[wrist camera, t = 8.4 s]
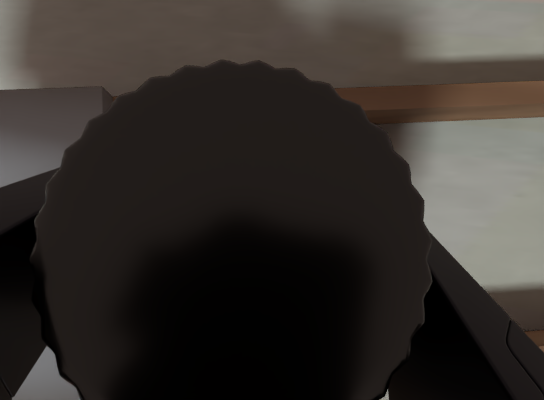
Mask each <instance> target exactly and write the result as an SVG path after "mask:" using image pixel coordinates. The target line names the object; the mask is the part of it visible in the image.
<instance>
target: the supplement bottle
mask: <svg viewBox="0 0 544 400" xmlns="http://www.w3.org/2000/svg"><path fill="white" fill-rule="evenodd" d="M423 218H424V200H423V198H422V197H421V195H420V194H419V192H418V191H417V190H416V189H415V188H414V186H413V185H412V183H411V172H410V167H409V164H408V163H407V162H406V161H405V160H404V159H403V158H402V157H401V156H400V155H398V154H397V153H396V152H395V151H394V150H393V146H392V143H391V140H390V138H389V135H388V133H387V132H386V131H385V130H383V129H382V128H380V127H379V126H377V125H375V124H373V123H371V122H370V121H369V119H368V118H367V116H366V113H365V111H364V110H363V108H362V107H361V105H359V104H356V103H354V102H352V101H349V100H346V99H343V98H341V97H340V96H339V95H338V93H337V92H336V90H335V89H334V88H333V87H332V86H331V85H330V84H328V83H324V82H319V81H312V80H309V79H307V78H306V77H305V76H304V75H303V74H302V73H301V72H299V71H298V70H297V69H294V68H280V69H275V68H273V67H272V66H270V65H268V64H266V63H264V62H261V61H259V60H258V61H252V62H248V63H246V64H237V63H234V62H231V61H226V60H220V61H217V62H214V63H212V64H210V65H208V66H205V67H200V66H184V67H182V68H180V69H178V70H177V71H176V72H175V73H173V74H171V75H170V76H158V77H152V78H149V79H148V80H147V81H146V82H145V83H143V84H142V85H141V86H140V87H139V88H138V89H137V90H136V91H133V92H129V93H125V94H123V95H120V96H117V98H116V99H115V100H114V101H113V103H112V104H111V106H110V107H109V109H108V110H107V111H106V112H104V113H102V114H100V115H98V116H96V117H94V118H92V119H91V120H89V121H88V123H87V125H86V127H85V129H84V131H83V133H82V135H81V137H80V138H79V139H78V140H77V141H75V142H74V143H73V144H71V145H70V146H69V147H68V148H66V149H65V151H64V154H63V157H62V162H61V166H60V169H59V170H58V171H57V172H56V173H55V174H54V175H53V176H52V177H51V179H50V180H49V181H48V182H47V183H46V189H45V204H44V205H43V207H42V208H41V210H40V211H39V213H38V215H37V216H36V218H35V220H34V228H35V233H36V242H35V245H34V247H33V249H32V252H31V255H30V258H29V263H30V266H31V270H32V273H33V275H34V278H35V281H34V286H33V291H32V298H31V300H32V302H33V304H34V306H35V308H36V310H37V311H38V312H39V314H40V316H41V338H42V340H43V341H44V343H45V344H46V345H47V347H49V348H50V349H51V350H52V351H53V353H54V354H55V358H56V363H57V368H58V372H59V375H60V376H61V377H62V378H63V379H64V380H65V381H67V382H68V383H70V384H72V385H73V386H74V387H75V388H76V389H77V392H78V395H79V397H80V399H81V400H379V399H381V398H383V397H384V396H385V395H386V392H387V390H388V387H389V384H390V381H391V377H392V375H393V374H394V373H395V372H397V371H398V370H399V369H401V368H402V367H403V366H404V365H405V364H406V363H407V362H408V361H409V356H410V351H411V340H412V338H413V336H414V335H415V333H416V332H418V331H419V329H420V328H421V326H422V325H423V324H424V322H425V312H424V302H423V300H424V297H425V295H426V293H427V292H428V291H429V288H430V286H431V284H432V276H431V271H430V268H429V265H428V262H427V258H428V254H429V252H430V249H431V244H432V238H431V236H430V233H429V231H428V229H427V227H426V225H425V224H424V222H423Z"/></svg>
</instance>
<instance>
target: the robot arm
mask: <svg viewBox="0 0 544 400" xmlns="http://www.w3.org/2000/svg"><path fill="white" fill-rule="evenodd" d="M59 169H60V167H59V168H56V169H53V170H50V171H47V172H44V173H41V174H38V175H35V176H32V177H29V178H26V179H23V180H20V181H18V182H15V183H12V184H9V185H6V186H3V187H0V400H12V398H13V397H14V396H15V395H16V393H17V392H18V390H19V388H20V387H21V385H22V384H23V382H24V381H25V379H26V378H27V376H28V374H29V373H30V371H31V370H32V368H33V367H34V365H35V364H36V362H37V360H38V359H39V357H40V356H41V354H42V353H43V351H44V350H45V348H46V346H47V345H46V344H45V343H44V341H43V340H42V338H41V316H40V314H39V312H38V311H37V310H36V308H35V306H34V304H33V302H32V300H31V298H32V291H33V286H34V281H35V278H34V275H33V273H32V270H31V266H30V263H29V258H30V255H31V252H32V249H33V247H34V245H35V242H36V233H35V228H34V220H35V218H36V216H37V215H38V213H39V211H40V210H41V208H42V207H43V205H44V204H45V189H46V183H47V182H48V181H49V180H50V179H51V177H52V176H53V175H54V174H55V173H56V172H57V171H58V170H59ZM429 233H430V232H429ZM430 236H431V238H432V244H431V249H430V252H429V254H428V258H427V262H428V265H429V268H430V271H431V276H432V284H431V286H430V288H429V291H428V292H427V293H426V295H425V297H424V300H423V302H424V312H425V322H424V324H423V325H422V326H421V328H420V329H419V331H418V332H416V333H415V335H414V336H413V338H412V340H411V351H410V356H409V361H408V362H407V363H406V364H405V365H404V366H403V367H402V368H401V369H399V370H398V371H397V372H395V373H394V374H393V375H392V377H391V381H390V384H389V387H388V393H389V400H544V352H543V351H542V350H541V349H540V348H539V347H538V346H537V345H536V344H535V343H534V342H533V341H532V340H531V339H530V338H529V337H528V336H527V335H526V334H525V332H524V331H523V330H522V329H521V328H520V327H519V326H518V325H517V324H516V323H515V322H514V321H513V320H510V317H509V316H508V314H507V313H506V312H505V311H504V310H503V309H502V308H501V307H500V306H499V305H498V304H497V303H496V302H495V301H494V300H493V299H492V298H491V297H490V295H489V294H488V293H487V292H486V291H485V290H484V289H483V288H482V287H481V286H480V285H479V284H478V283H477V282H476V281H475V280H474V279H473V277H472V276H471V275H470V274H469V273H468V272H467V271H466V270H465V269H464V268H463V267H462V266H461V265H460V264H459V263H458V262H457V261H456V260H455V258H454V257H453V256H452V255H451V254H450V253H449V252H448V251H447V250H446V249H445V248H444V247H443V246H442V245H441V244H440V243H439V242H438V240H437V239H436V238H435V237H434V236H433V235H432V234H431V233H430Z"/></svg>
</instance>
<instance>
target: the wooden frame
mask: <svg viewBox="0 0 544 400" xmlns="http://www.w3.org/2000/svg"><path fill="white" fill-rule="evenodd" d="M334 89H335V90H336V92H337V93H338V95H339V96H340V97H341V98H343V99H346V100H349V101H352V102H354V103H356V104H359V105H361V107H362V108H363V110H364V111H365V113H366V116H367V118H368V119H369V121H370V122H371V123H373V124H387V123H410V122H434V121H458V120H482V119H505V118H529V117H544V81H521V82H494V83H467V84H440V85H413V86H386V87H358V88H334ZM116 98H117V96H114V97H112V96H111V95H110V94H109V93H108V92H107V91H106V90H105V89H104V88H103V87H102V86H101V87H73V88H44V89H16V90H0V187H3V186H6V185H9V184H12V183H15V182H18V181H20V180H23V179H26V178H29V177H32V176H35V175H38V174H41V173H44V172H47V171H50V170H53V169H56V168H59V167H60V166H61V162H62V157H63V154H64V151H65V149H66V148H68V147H69V146H70V145H71V144H73V143H74V142H75V141H77V140H78V139H79V138H80V137H81V135H82V133H83V131H84V129H85V127H86V125H87V123H88V121H89V120H91V119H92V118H94V117H96V116H98V115H100V114H102V113H104V112H106V111H107V110H108V109H109V107H110V106H111V104H112V103H113V101H114V100H115V99H116ZM525 334H526V335H527V336H528V337H529V338H530V339H531V340H532V341H533V342H534V343H535V344H536V345H537V346H538V347H539V348H540V349H541V350H542V351H543V352H544V330H538V331H525ZM12 400H81V399H80V397H79V395H78V392H77V389H76V388H75V387H74V386H73V385H72V384H70V383H68V382H67V381H65V380H64V379H63V378H62V377H61V376H60V375H59V372H58V368H57V363H56V358H55V354H54V353H53V351H52V350H51V349H50V348H49V347H47V346H46V348H45V350H44V351H43V353H42V354H41V356H40V357H39V359H38V360H37V362H36V364H35V365H34V367H33V368H32V370H31V371H30V373H29V374H28V376H27V378H26V379H25V381H24V382H23V384H22V385H21V387H20V388H19V390H18V392H17V393H16V395H15V396H14V397H13V398H12Z"/></svg>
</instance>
